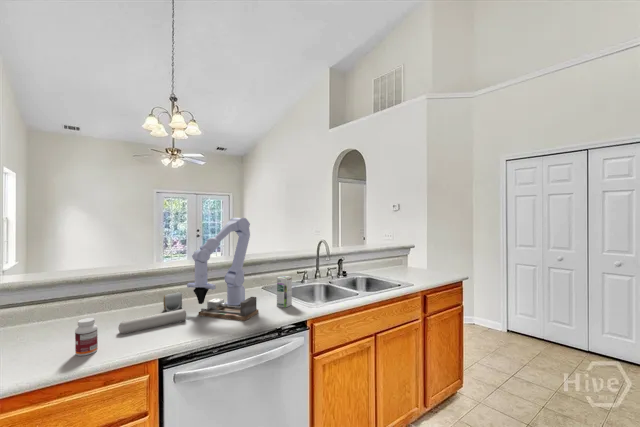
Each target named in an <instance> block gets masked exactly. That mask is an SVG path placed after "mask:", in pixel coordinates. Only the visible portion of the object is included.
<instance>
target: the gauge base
mask: <svg viewBox="0 0 640 427" xmlns="http://www.w3.org/2000/svg"><path fill="white" fill-rule="evenodd" d="M197 314H198V316H199V317H209V318H217V319H225V320H226V319H227V320H235V321H243V322H245V321H247V320H249V319H250V318H252V317H254V316H256V315H257V314H259V309H258V308H257V297H256V296H250V297H248V298H247V299H246V298H245V300H244V301H242V302H240V306H234V305H227V307H226V308H225V307H224V308H222V309H220V310H213V309H210V310H207V308H201V309H200V311H199V312H198V313H197Z"/></svg>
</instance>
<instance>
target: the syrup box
mask: <svg viewBox="0 0 640 427" xmlns="http://www.w3.org/2000/svg"><path fill="white" fill-rule="evenodd" d="M292 282H293V278H292V276H286V275H280V276H278V277H276V307H280V308H285V309H286V308H288V307H290V306H292V304H293V301H292V300H293V295H292V294H293V283H292Z"/></svg>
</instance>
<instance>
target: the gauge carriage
mask: <svg viewBox="0 0 640 427" xmlns="http://www.w3.org/2000/svg"><path fill="white" fill-rule="evenodd" d="M206 303H207V304H206V306H207V307H206V309H207V310H210V309H213V310H220V309H222V308H224V307H225V308H226V307H227V306H228V305H227V304H226V302H225V298H219V297H218V298H217V297H215V298H212V299H210V300H207V302H206Z"/></svg>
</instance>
